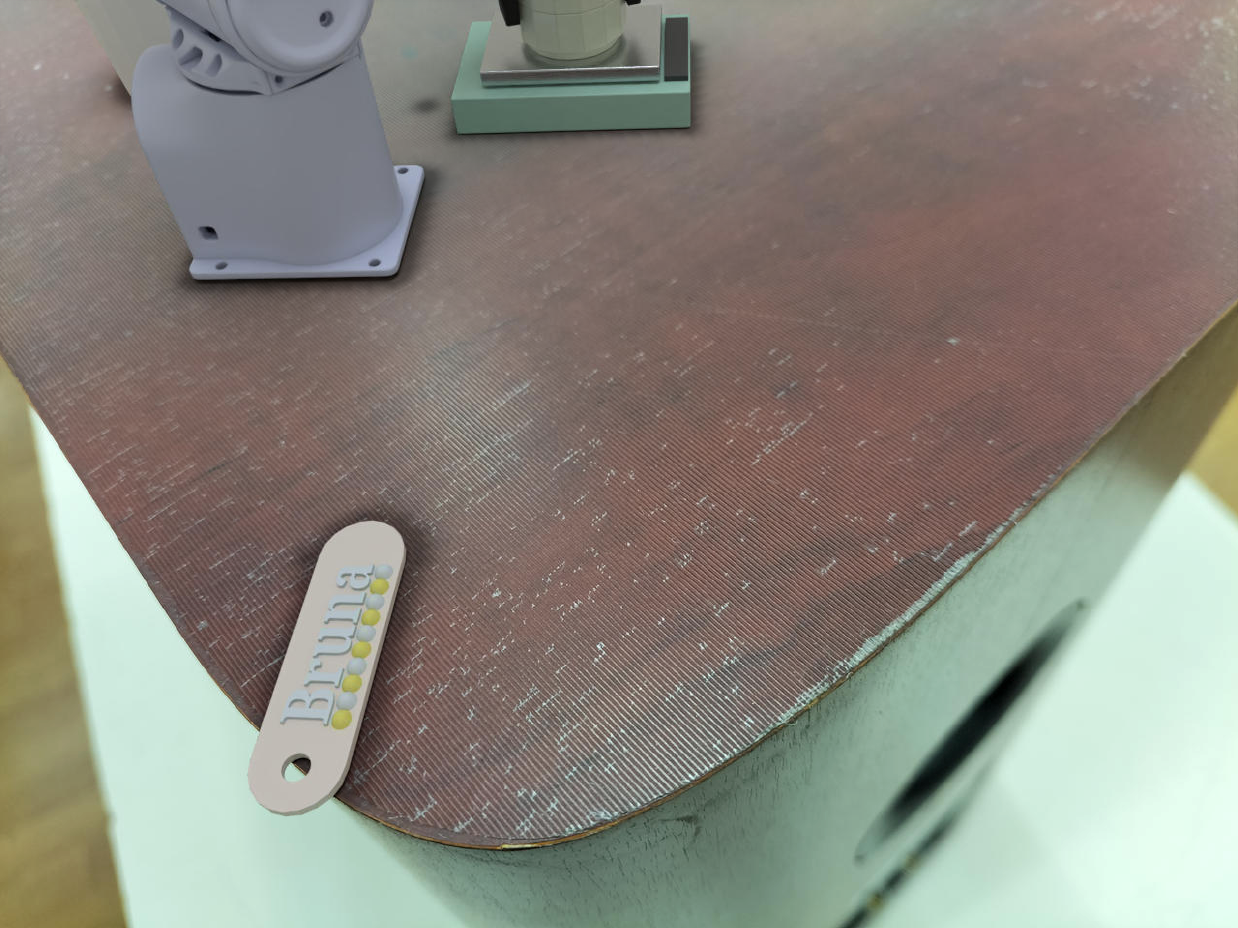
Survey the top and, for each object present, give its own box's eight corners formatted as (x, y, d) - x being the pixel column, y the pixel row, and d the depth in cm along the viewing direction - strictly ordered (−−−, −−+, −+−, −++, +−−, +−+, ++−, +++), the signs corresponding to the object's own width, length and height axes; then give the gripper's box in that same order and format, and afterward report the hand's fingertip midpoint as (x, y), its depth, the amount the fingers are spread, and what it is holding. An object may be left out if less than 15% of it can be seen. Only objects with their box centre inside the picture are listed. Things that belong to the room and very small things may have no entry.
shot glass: (206, 115, 55) (153, -14, 49) (93, 108, 56) (29, -20, 51) (259, 51, 59) (216, -75, 54) (153, 45, 60) (101, -78, 55)
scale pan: (481, 87, 51) (478, 72, 50) (496, 24, 55) (494, 10, 54) (660, 81, 50) (659, 66, 50) (661, 19, 54) (661, 4, 54)
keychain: (328, 811, 29) (229, 805, 29) (335, 818, 29) (237, 813, 30) (410, 516, 35) (328, 515, 36) (414, 526, 36) (334, 525, 36)
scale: (457, 134, 52) (449, 93, 50) (477, 55, 57) (470, 15, 55) (690, 128, 51) (690, 86, 50) (689, 48, 56) (689, 7, 55)
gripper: (365, -277, 37) (437, 70, 47) (743, -330, 39) (733, 18, 49) (351, -324, 42) (420, 3, 52) (690, -369, 43) (691, -43, 54)
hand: (570, 6), depth 51 cm, fingers open, 5 cm apart
